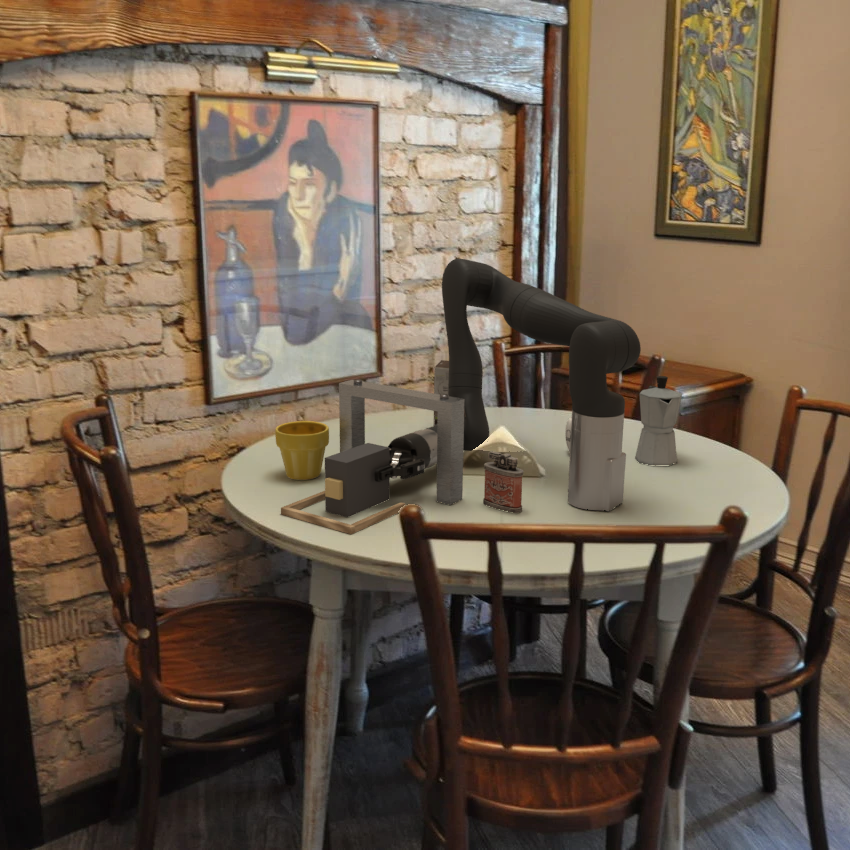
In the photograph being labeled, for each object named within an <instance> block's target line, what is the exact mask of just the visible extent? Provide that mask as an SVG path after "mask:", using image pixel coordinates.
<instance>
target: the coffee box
mask: <svg viewBox="0 0 850 850" xmlns="http://www.w3.org/2000/svg"><path fill="white" fill-rule="evenodd" d="M433 378H434V380H433V386H434V387H433V394H439V395H441V394H447V395H448V381H449V360H445V359H444V360H443V359H442V360H440V361H439V362H438V363H437V364H436V365H435V366H434V377H433ZM464 417H466V414H465V411H464ZM437 423H438V412H437V411H433V426H435V425H436V424H437ZM433 426H432V427H433Z"/></svg>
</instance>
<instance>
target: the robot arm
mask: <svg viewBox="0 0 850 850" xmlns="http://www.w3.org/2000/svg"><path fill="white" fill-rule="evenodd" d="M444 268H445V269H444V270H443V274H442V280H441V294H442V303H443V304H442V305H443V314H444V321H445V328H446V329H445V330H446V331H445V332H446V336H447V337H446V338H447V346H448V348H447V349H448V361H449V381H448V395H449V396H450V397H456V398H462V399H464V411H465V414H466V417H464V444H463V452H464V451H466V452H467V451H468V452H469V451H470V452H472V450H473V449H475V448H476V447H478V446H479V445H480V444H482V443H483V442H484V441H485V440H486V439H487V438H488V437H489V438H490V426H489V422H488V418H487V417H488V416H487V413H486V410H485V405H484V399H483V374H484V372H483V362H482V357H481V354H480V352H479V348H478V346H477V344H476V342H475V340H474V337H473V335H472V332H471V331H472V330H471V329H470V326H469V322H468V311H467V310H468V309H467V308H468V307H469V306H470V307H473V308H480V309H485V310H489V311H493V312H496V313H498V314H500V315H502V317H503V319H504V321H505V322H506V323H507V325H508V326H509V327H510V328H511V329H513V330H515V331H516V332H518V333H519V334H522V335H523V336H526V337H528V338H530V339H532V340H534V341H537V342H538V341H539V342H542V343H546V344H551V345H558V346H565V347H569V351H568V389H569V394H570V395H569V396H570V398H571V417H572V422H571V441H570V452H569V460H568V461H569V463H568V466H569V467H568V486H567V503H568V504H570V505H571V506H573V507H575V508H579V509H583V510H587V509H588V510H587V511H604V510H606V511H605V512H610V511H612V510H613V508H614V507H615V508H617V507H618V506H620V505H621V504H620V503H622V502H623V503H624V489H625V476H626V459H627V454H626V452H623V435H624V421H625V420H624V419H625V409H626V401H625V397H624V396H623V395H622V394H621V393H618V392H615V391H611V390H609V389H608V385H607V384H608V382H607V381H608V379H607V374H615V373H621V372H623V371H626V370H628V369H630V368H632V367H633V366H635V364H636V363H637V361H638V360H639V358H640V355H641V342H640V338H639V337H638V335H637V333H636V331H635V330H634V329H633V328H632V327H631V326H630V325H629V324H627V323H626V322H625V321H622V320H619V319H617V318H616V319H615V318H612V317H608V316H604V315H600V314H597V313H594V312H590V311H588V310H586V309H584V308H581V307H579V306H577V305H576V304H574V303H572V302H569V301H567V300H565V299H563V298H560V297H558V296H556V295H554V294H553V293H551V292H548V291H545V290H544V289H541V288H539V287H536V286H532V285H530V284H528V283H523V282H519V281H516V280H513V279H511V278H510V277H509V276H508V275H505V274H504V273H502V272H501V271H500V270H498V269H496V268H495V267H493V266H492V265H490V264H486V263H483V262H480V261H479V262H478V261H474V260H470V259H465V258H454V259H452V260H451V261H450V262H449V263H447V264H446V266H445V267H444ZM437 428H438V423H437V424H436V425H435V426H431V427H427V428H425V429H420V430H415V431H413V432H411V433H410V432H409V433H407V434H404V435H402V436H399V437H395V438H394V439H393V440H392V441H390V443H389V444H388V445H387V447H390V466H389V465H387V466H384V467H382V468H379V469H376V470H375V481H376V482H381V481H383V480H386V479H388V478H391V479H397V478H398V477H399V479H401V480H407V479H410V478H414V477H417V476H419V475H422V474H424V473H425V470H427V469H428V468H431V467H433V466H434V465H437ZM623 503H622V504H623ZM619 504H620V505H619ZM617 505H618V506H617ZM616 506H617V507H616ZM615 508H614V509H615ZM611 509H612V510H611ZM609 510H610V511H609Z"/></svg>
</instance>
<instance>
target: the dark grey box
mask: <svg viewBox="0 0 850 850" xmlns="http://www.w3.org/2000/svg"><path fill="white" fill-rule="evenodd" d="M387 465H389V466H390V447H388V446H385V445H379V444H375V443H371V442H367V443H366V442H365V444H363V445H360V446H357V447H354V448H352V449H349V450H346V451H343V452H340V451H339V452H337V453H334V454H332V455H329V456H326V457H324V484H325V485H324V491H325V500H324V501H325V506H324V507H325V512H326V513H329V514H333V515H337V516H340V517H343V518H350V517H352V516H355V515H357V514H358V513H361V512H364V511H366V510H368V509H371V508H374V507H375V505H376V506H377V504H378V505H380V504H382V503H385V502H387V501H389V500H390V482H391V481H390V480H391V479H390V478H388V479H386V480H383V481H381V482H376V481H375V470H376V469H379V468H382V467H384V466H387ZM388 499H389V500H388ZM386 500H387V501H386ZM384 501H385V502H384Z"/></svg>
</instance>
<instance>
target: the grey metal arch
mask: <svg viewBox="0 0 850 850" xmlns="http://www.w3.org/2000/svg"><path fill="white" fill-rule="evenodd" d="M365 399H368V400H373V401H379V402H385V403H388V404H390V403H391V404H394V405H401V406H406V407H409V408H410V407H412V408H416V409H422V410H428V411H431V412H432V411H433V412H434V411H437V412H438V428H437V463H436V502H437V501H438V502H437V503H439V502H442V503H441V504H443V503H445V504H444V505H447V504H449V505H448V506H452V505H453V503H454V504H456V503H458V502H460V501H462V500H463V491H464V490H463V486H464V485H463V483H464V482H463V480H464V479H463V478H464V451H463V444H464V399H462V398H456V397H450V396H449V395H447V394H441V395H439V394H434V392H433V393H432V392H426V391H421V390H414V389H409V388H403V387H398V386H392V385H391V386H390V385H386V384H380V383H375V382H368V381H363V379H349V380H345V381H343V382H339V383H338V402H339V403H338V406H339V407H338V409H339V413H338V414H339V415H338V416H339V418H338V419H339V453H340V452H343V451H346V450H349V449H352V448H354V447H357V446H360V445H363V444H366V427H365V426H366V423H365V422H366V419H365V418H366V411H365V409H366V408H365V407H366V401H365ZM459 500H460V501H459ZM455 502H456V503H455ZM451 504H452V505H451Z"/></svg>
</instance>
